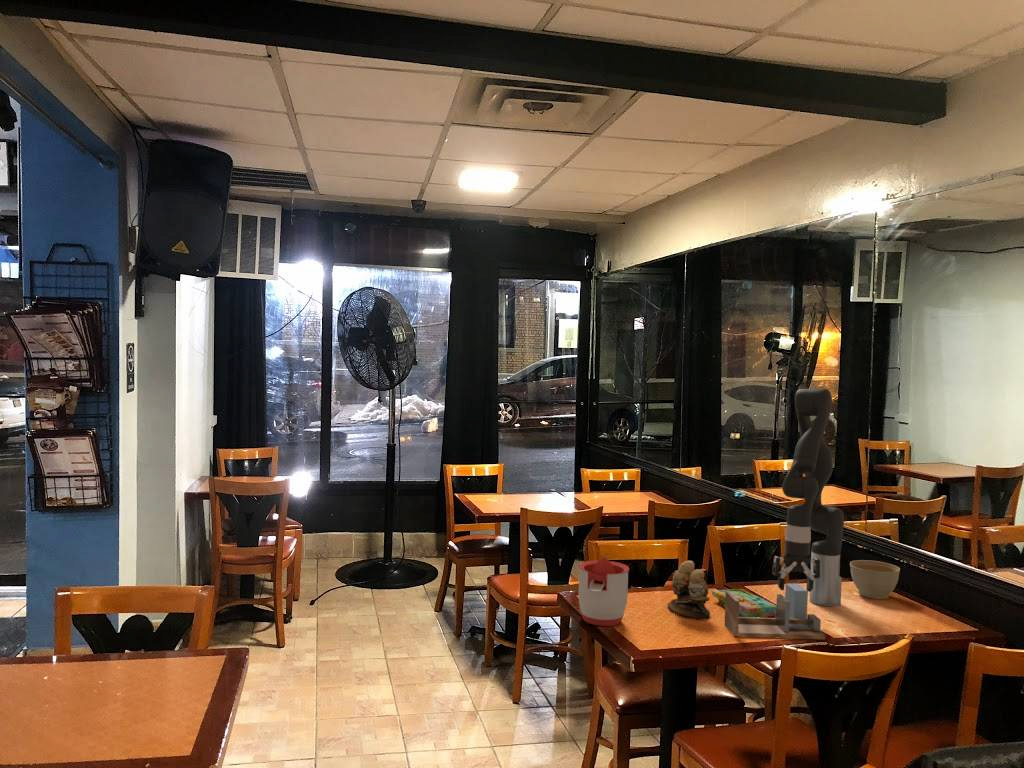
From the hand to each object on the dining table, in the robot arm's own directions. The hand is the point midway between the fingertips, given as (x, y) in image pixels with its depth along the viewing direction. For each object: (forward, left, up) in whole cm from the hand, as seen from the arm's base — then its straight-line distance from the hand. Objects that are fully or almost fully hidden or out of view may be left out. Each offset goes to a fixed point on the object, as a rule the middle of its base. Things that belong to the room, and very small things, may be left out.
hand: (795, 590), depth 239 cm
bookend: (+3, +10, -8) cm, 14 cm away
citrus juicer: (+62, +6, -10) cm, 63 cm away
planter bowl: (-40, -32, -10) cm, 52 cm away
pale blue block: (0, 0, -10) cm, 10 cm away
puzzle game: (+12, -12, -11) cm, 20 cm away
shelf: (+10, +10, -10) cm, 18 cm away
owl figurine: (+32, -7, -10) cm, 34 cm away
